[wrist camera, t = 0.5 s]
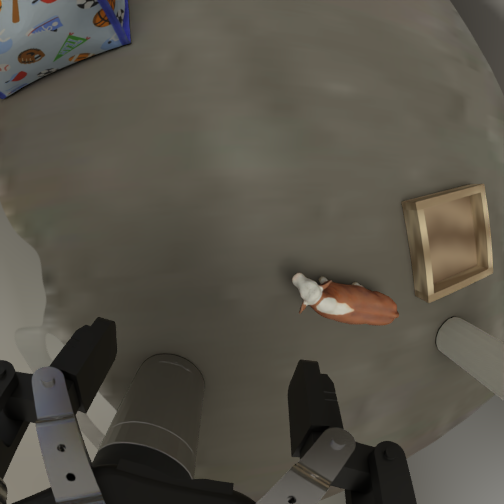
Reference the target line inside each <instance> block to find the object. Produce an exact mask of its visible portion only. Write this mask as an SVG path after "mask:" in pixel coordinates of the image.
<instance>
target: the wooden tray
mask: <svg viewBox="0 0 504 504" xmlns="http://www.w3.org/2000/svg"><path fill="white" fill-rule="evenodd" d="M401 203H402V208H403V213H404V219H405V224H406V230H407V236H408V242H409V248H410V255H411V263H412V270H413V279H414V288H415V296H417V297H419V298H420V299H422V300H424V301H426V302H428V303H430V302H432V301H435V300H437V299H439V298H442V297H444V296H446V295H448V294H451V293H453V292H455V291H457V290H459V289H461V288H464V287H466V286H468V285H470V284H472V283H474V282H476V281H478V280H480V279H482V278H484V277H486V276H488V275H490V274H492V273H493V262H492V245H491V233H490V223H489V215H488V207H487V200H486V194H485V188H484V184H468V185H464V186H460V187H457V188H453V189H449V190H445V191H441V192H437V193H433V194H429V195H426V196H422V197H418V198H414V199H410V200H406V201H403V202H401Z"/></svg>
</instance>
